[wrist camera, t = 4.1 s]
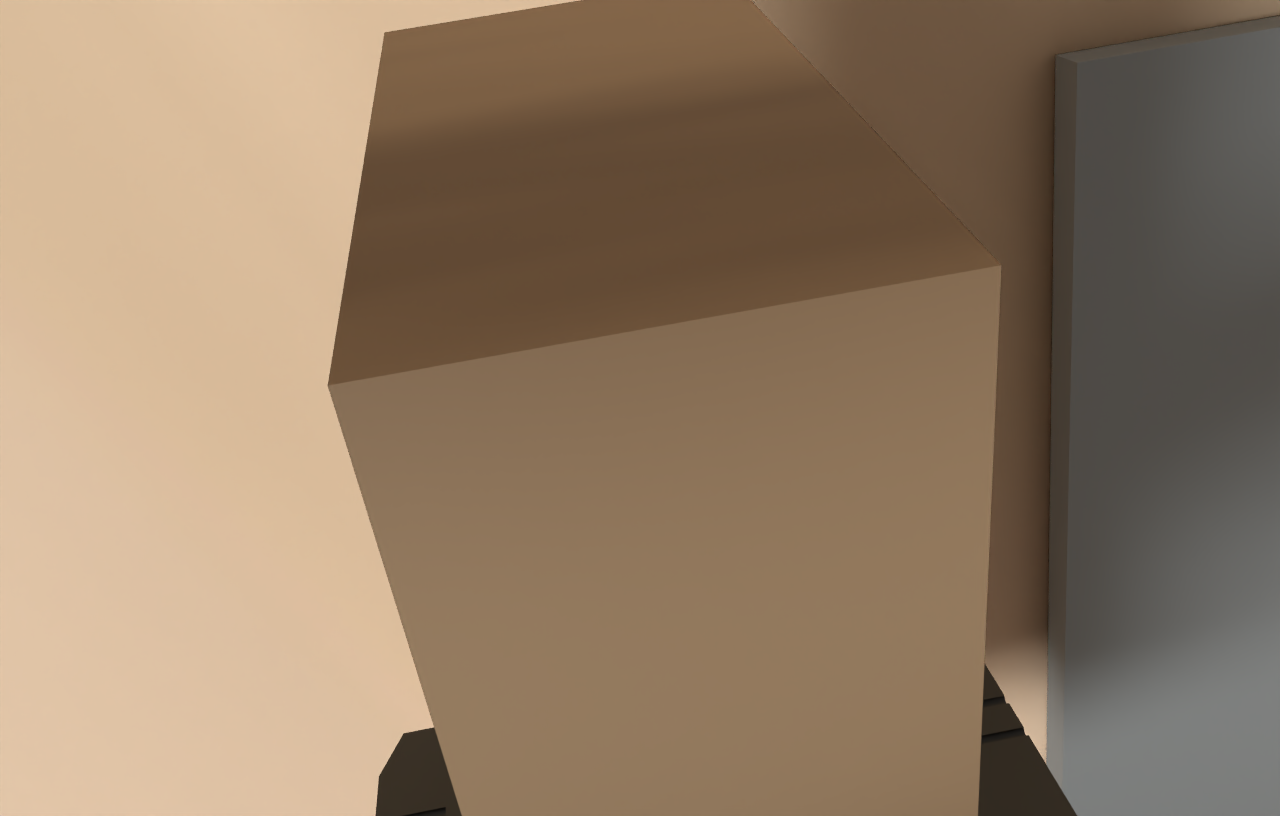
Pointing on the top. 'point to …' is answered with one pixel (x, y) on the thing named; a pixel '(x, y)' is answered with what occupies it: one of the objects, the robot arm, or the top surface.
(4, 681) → the top surface
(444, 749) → the brown rectangular block
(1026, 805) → the robot arm
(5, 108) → the top surface
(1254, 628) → the mat
